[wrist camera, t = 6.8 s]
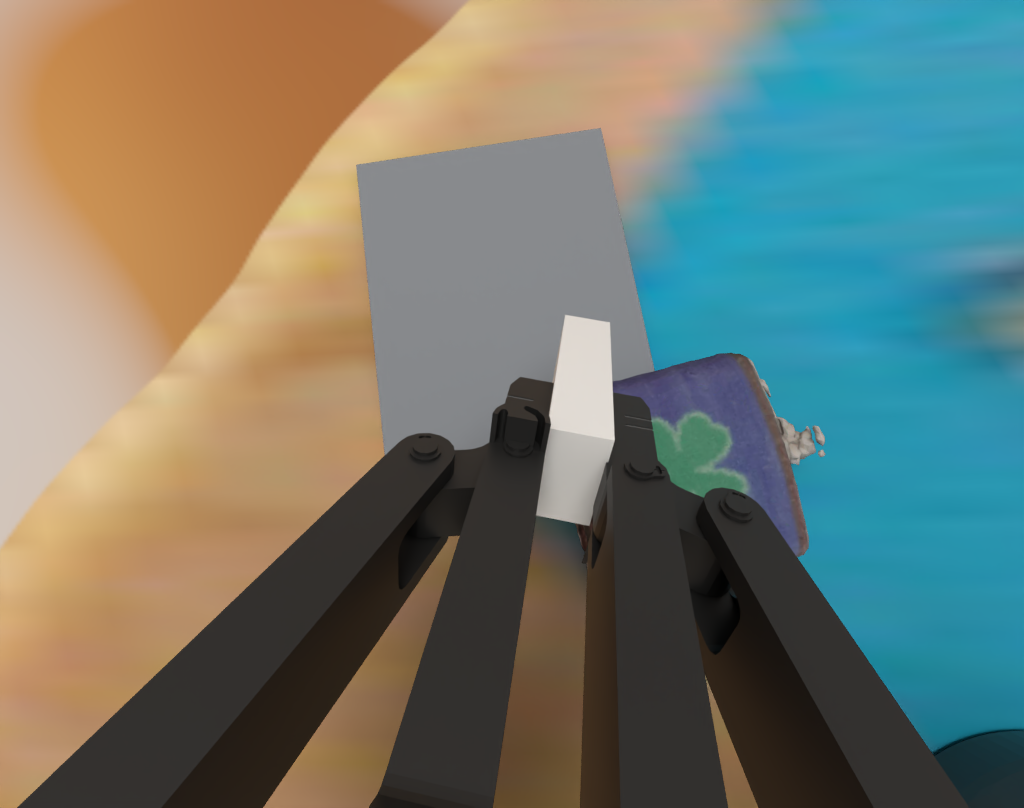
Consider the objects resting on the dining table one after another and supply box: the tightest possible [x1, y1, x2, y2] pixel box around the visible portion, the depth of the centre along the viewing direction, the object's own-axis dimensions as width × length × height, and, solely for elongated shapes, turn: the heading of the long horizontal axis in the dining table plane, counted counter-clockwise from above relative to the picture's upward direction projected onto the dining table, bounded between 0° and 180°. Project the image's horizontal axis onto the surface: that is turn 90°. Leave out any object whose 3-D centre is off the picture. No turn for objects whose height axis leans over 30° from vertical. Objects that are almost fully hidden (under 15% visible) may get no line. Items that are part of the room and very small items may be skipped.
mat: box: [356, 128, 654, 455], centre depth 24 cm, size 16×13×1 cm
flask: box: [575, 353, 825, 566], centre depth 21 cm, size 9×3×11 cm
